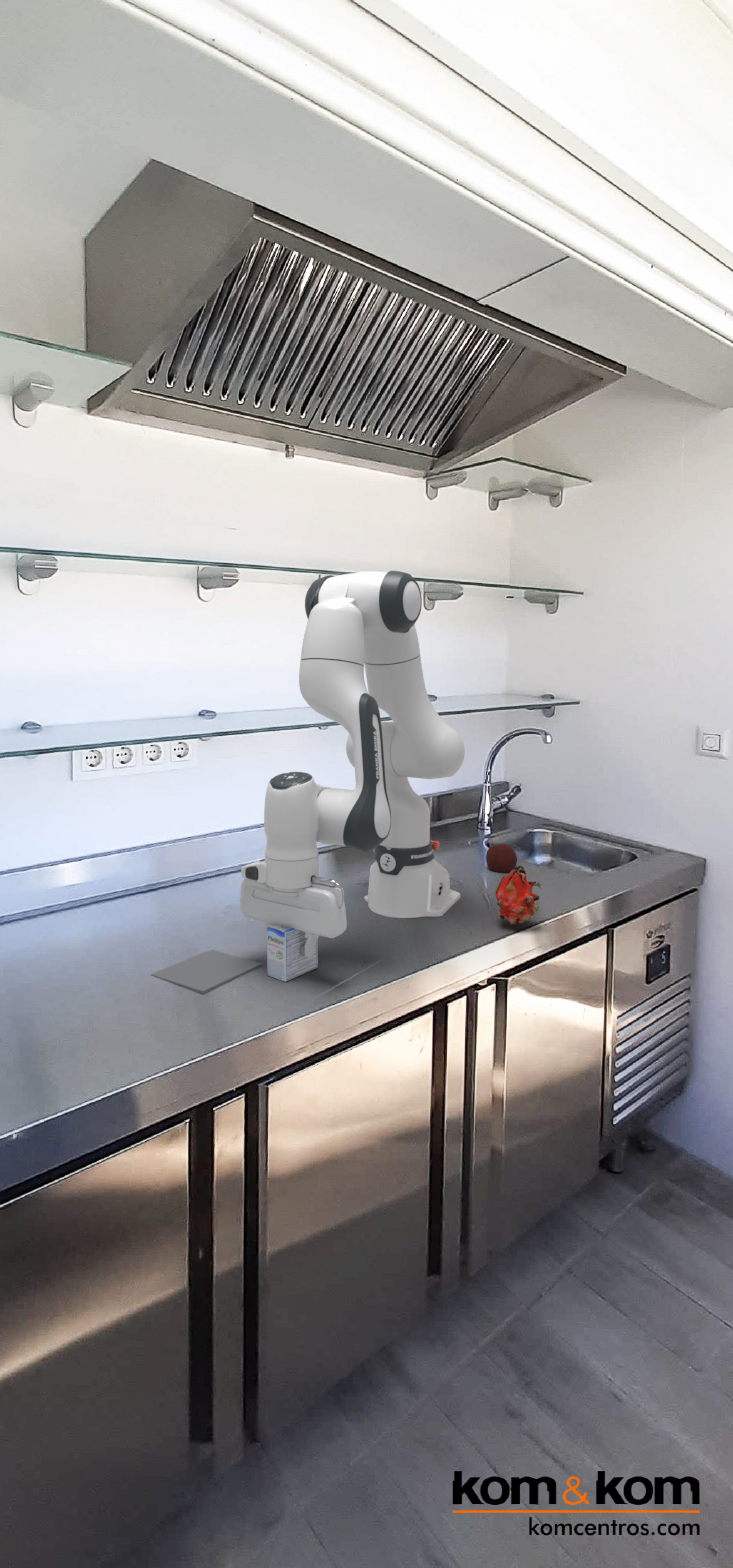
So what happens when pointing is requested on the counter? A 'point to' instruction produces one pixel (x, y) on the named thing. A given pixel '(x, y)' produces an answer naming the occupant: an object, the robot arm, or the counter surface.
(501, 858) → the dark brown ball
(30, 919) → the counter surface
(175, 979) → the mat
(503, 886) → the dragon fruit
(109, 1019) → the counter surface
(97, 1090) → the counter surface
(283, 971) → the medicine box
